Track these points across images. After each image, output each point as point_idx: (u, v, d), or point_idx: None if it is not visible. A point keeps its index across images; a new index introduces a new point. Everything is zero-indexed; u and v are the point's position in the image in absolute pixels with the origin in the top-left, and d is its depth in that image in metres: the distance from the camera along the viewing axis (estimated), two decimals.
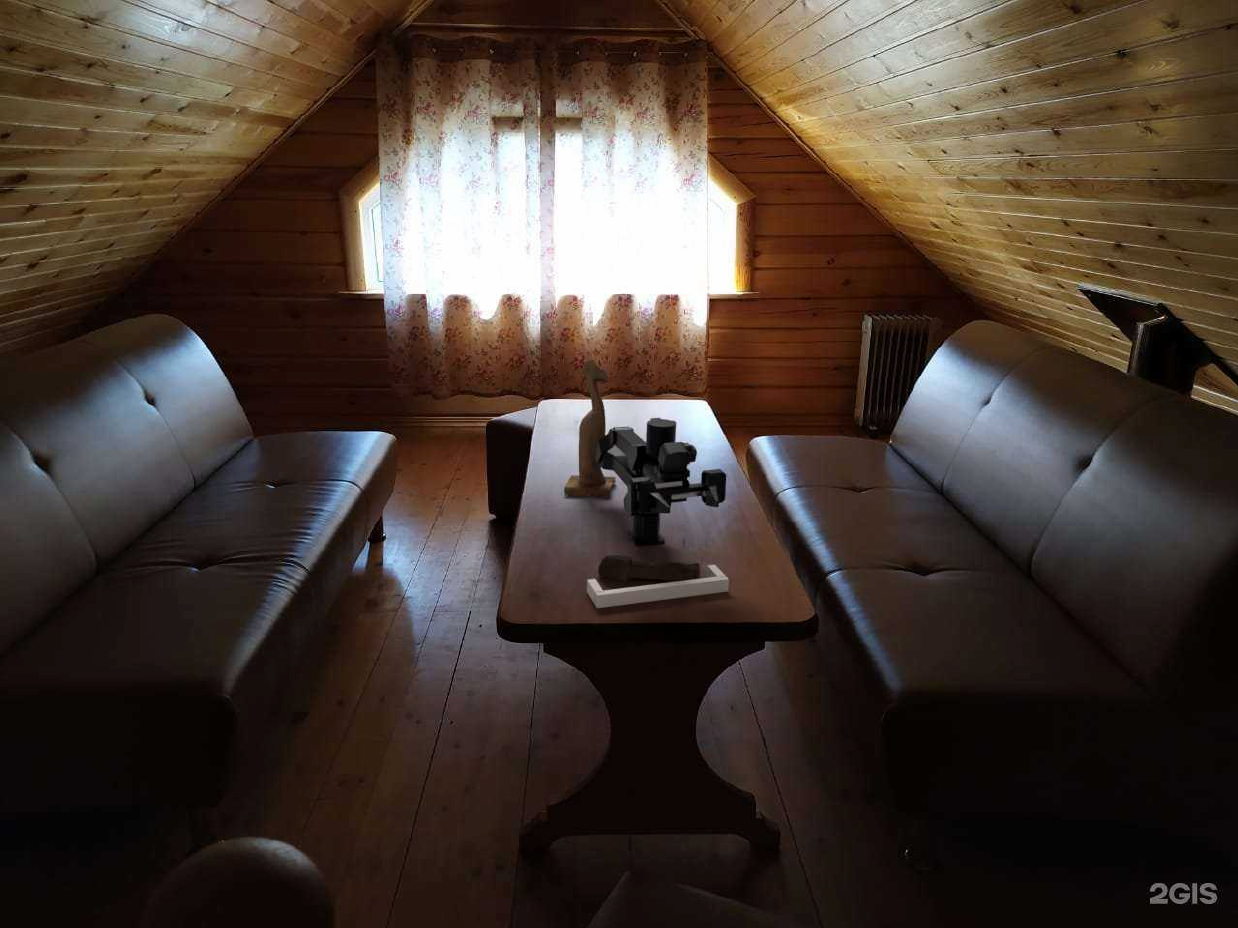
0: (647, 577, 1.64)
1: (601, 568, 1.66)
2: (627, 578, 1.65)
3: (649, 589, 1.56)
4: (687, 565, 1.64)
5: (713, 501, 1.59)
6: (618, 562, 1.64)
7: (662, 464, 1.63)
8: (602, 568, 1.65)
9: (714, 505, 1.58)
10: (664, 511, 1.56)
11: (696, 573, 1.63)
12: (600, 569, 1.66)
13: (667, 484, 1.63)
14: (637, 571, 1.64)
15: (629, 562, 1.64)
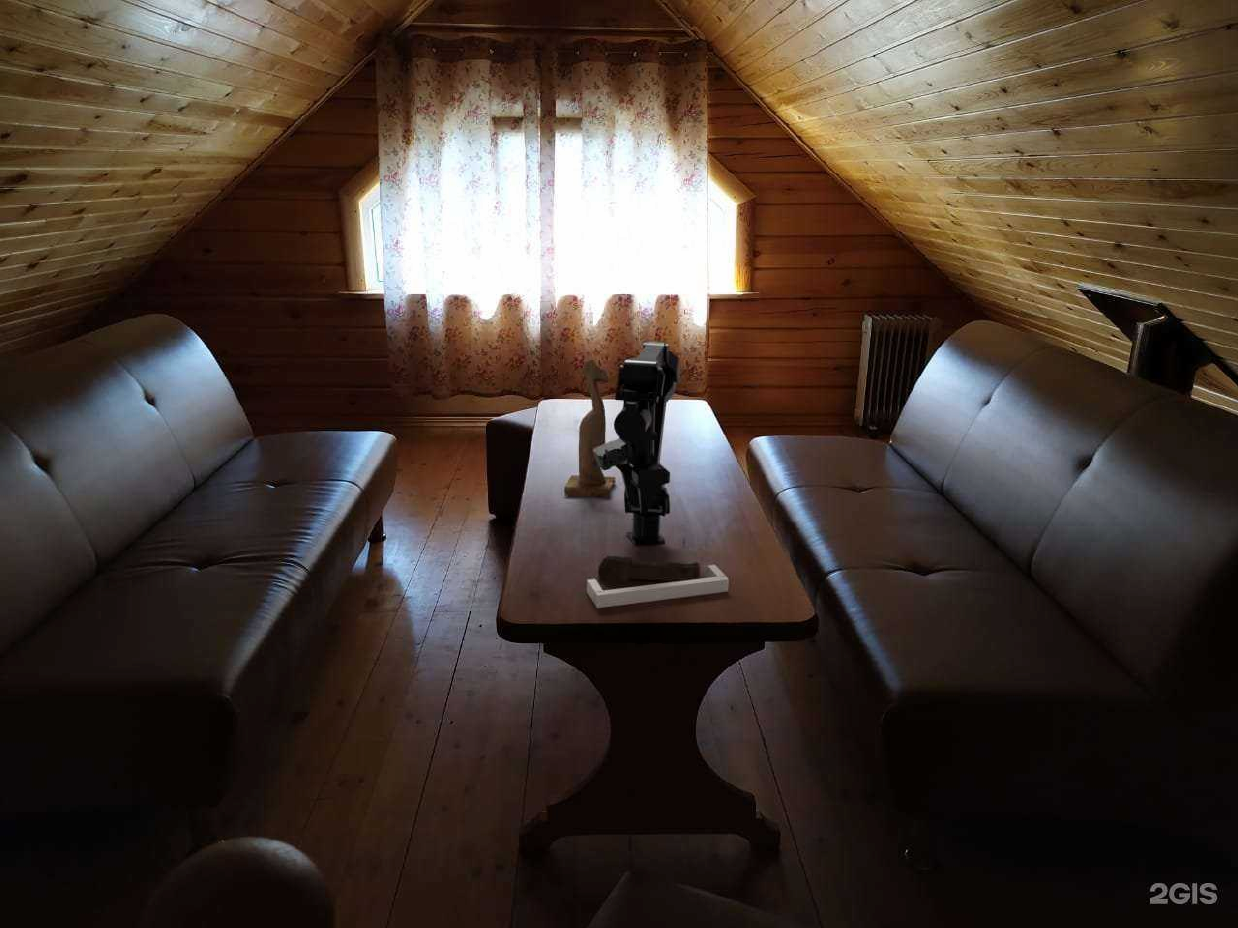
0: (647, 577, 1.64)
1: (601, 569, 1.65)
2: (627, 579, 1.65)
3: (649, 589, 1.56)
4: (687, 565, 1.64)
5: None
6: (619, 563, 1.64)
7: None
8: (602, 569, 1.65)
9: None
10: None
11: (696, 573, 1.63)
12: (600, 570, 1.65)
13: None
14: (637, 572, 1.64)
15: (629, 563, 1.64)
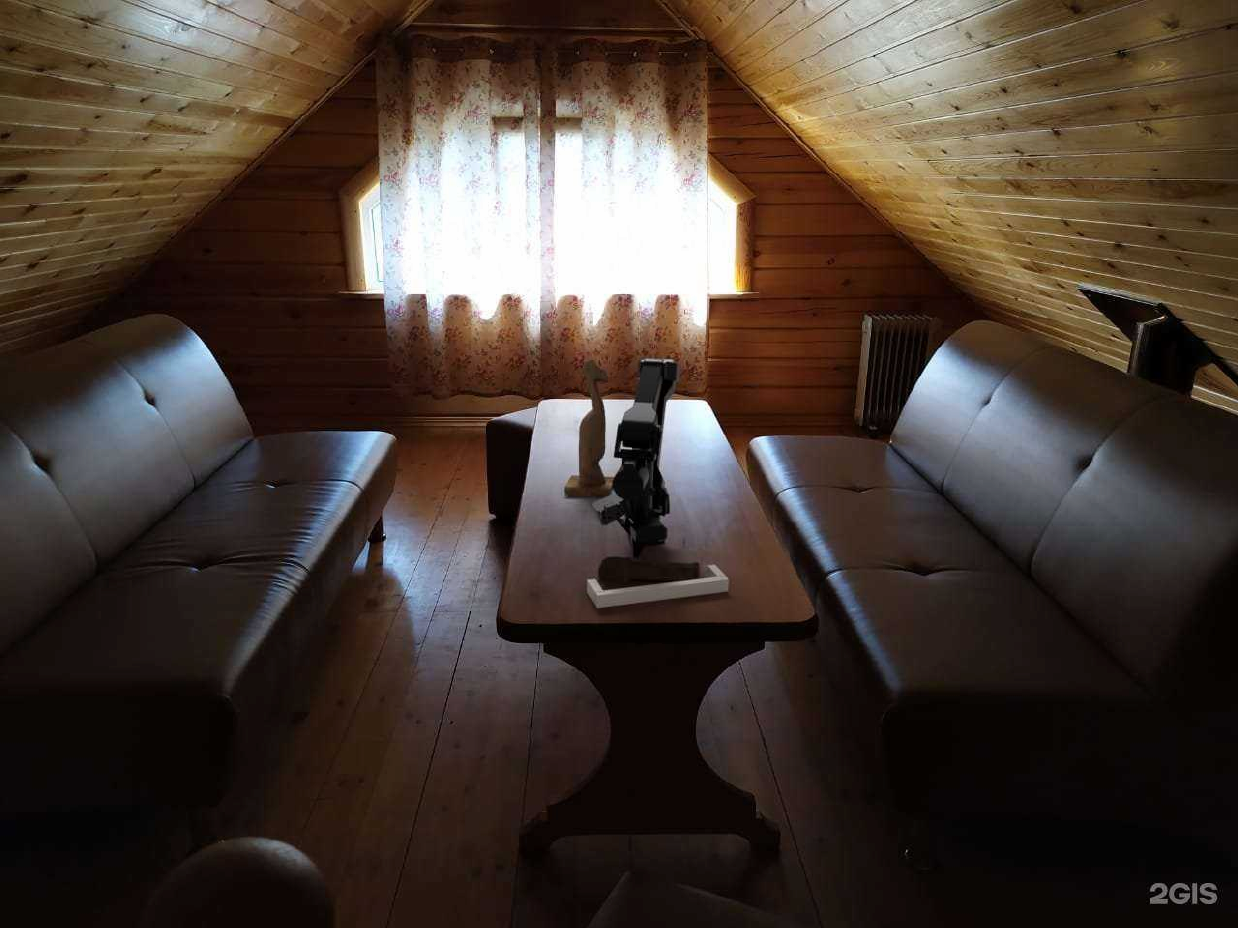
0: (647, 577, 1.64)
1: (601, 570, 1.65)
2: (627, 579, 1.65)
3: (649, 589, 1.56)
4: (687, 565, 1.64)
5: None
6: (619, 563, 1.64)
7: None
8: (602, 569, 1.65)
9: None
10: None
11: (697, 572, 1.63)
12: (600, 571, 1.65)
13: None
14: (637, 572, 1.64)
15: (629, 563, 1.64)
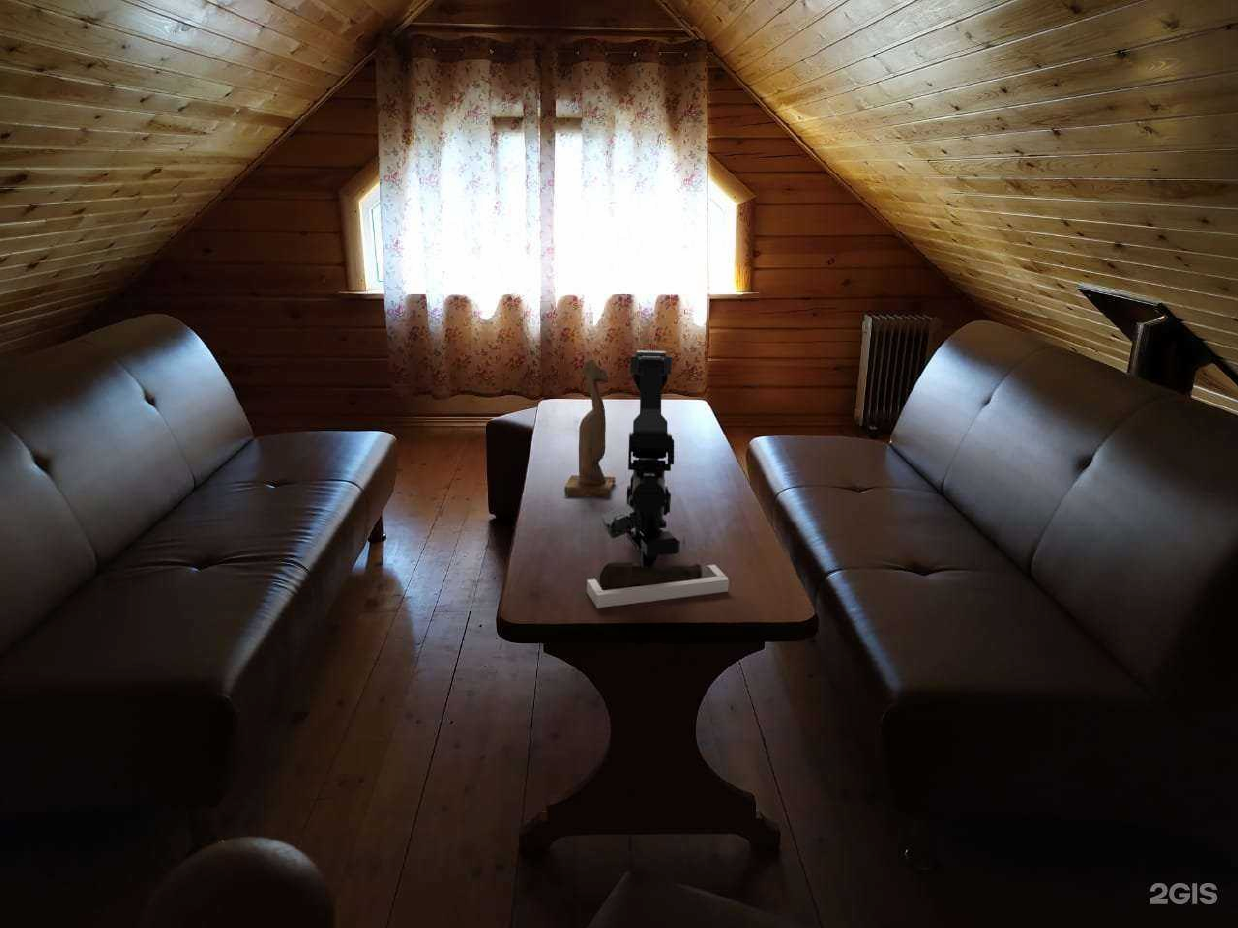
0: (650, 582, 1.62)
1: (603, 576, 1.62)
2: (630, 585, 1.62)
3: (649, 589, 1.56)
4: (689, 567, 1.64)
5: None
6: (621, 569, 1.61)
7: None
8: (604, 576, 1.62)
9: None
10: None
11: (700, 575, 1.62)
12: (601, 577, 1.62)
13: None
14: (640, 577, 1.62)
15: (632, 568, 1.62)
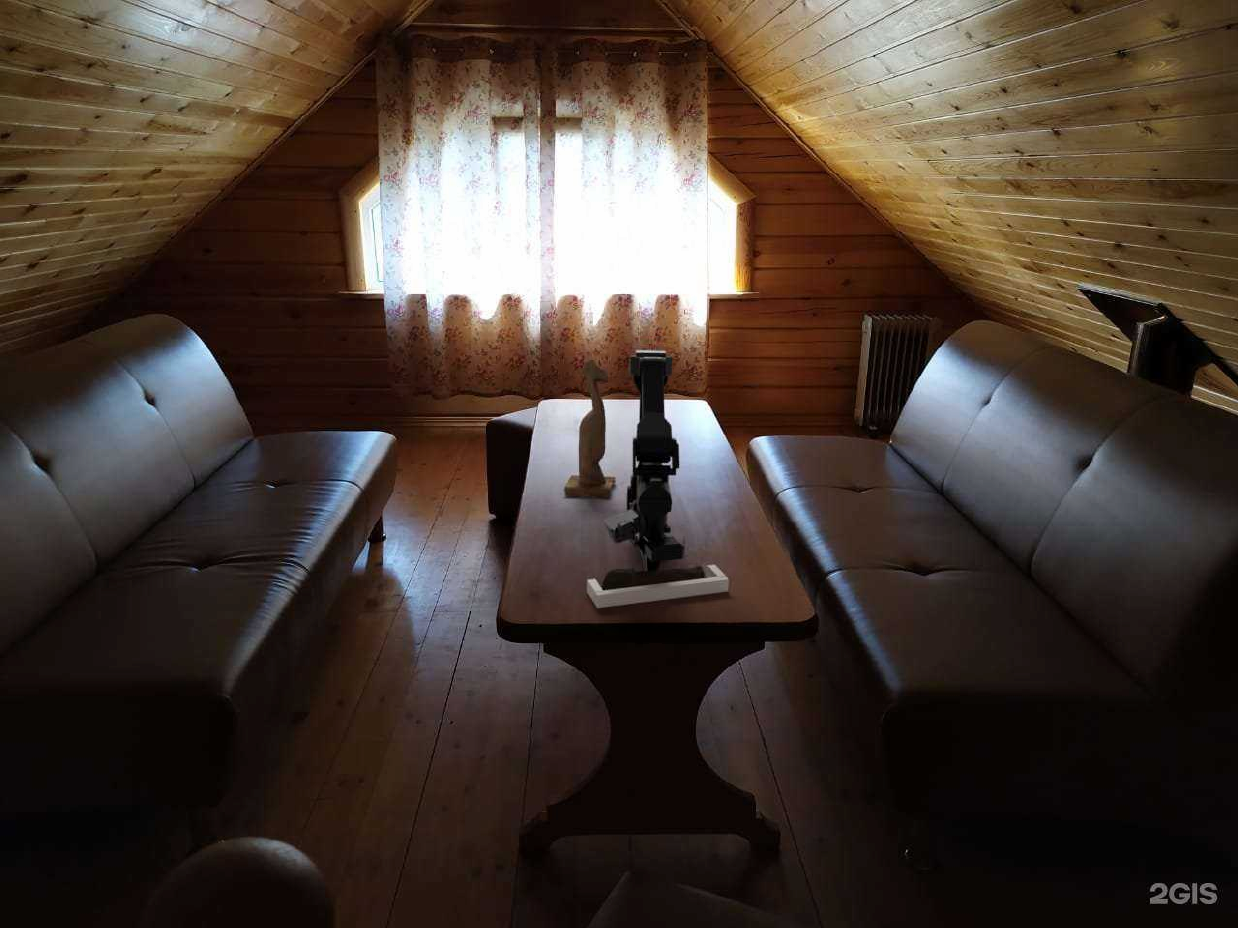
0: None
1: (606, 584, 1.59)
2: None
3: (649, 589, 1.56)
4: (691, 569, 1.62)
5: None
6: (625, 576, 1.59)
7: None
8: (607, 584, 1.59)
9: None
10: None
11: (703, 576, 1.61)
12: (605, 585, 1.59)
13: None
14: (644, 582, 1.60)
15: (635, 574, 1.59)
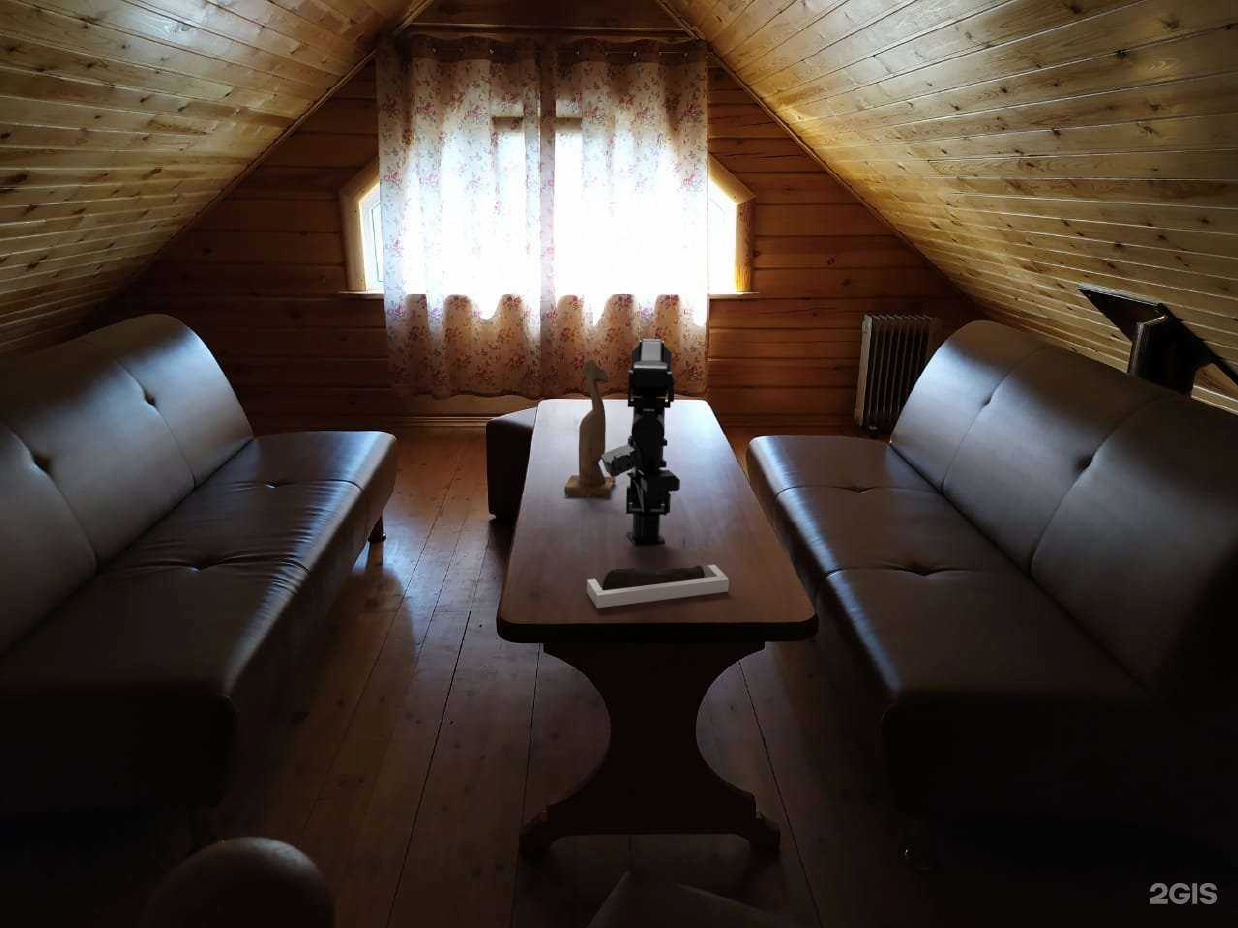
0: None
1: (606, 584, 1.59)
2: None
3: (649, 589, 1.56)
4: (691, 569, 1.62)
5: None
6: (625, 576, 1.59)
7: None
8: (607, 584, 1.59)
9: None
10: None
11: (703, 576, 1.61)
12: (605, 585, 1.59)
13: None
14: (644, 582, 1.60)
15: (636, 574, 1.59)
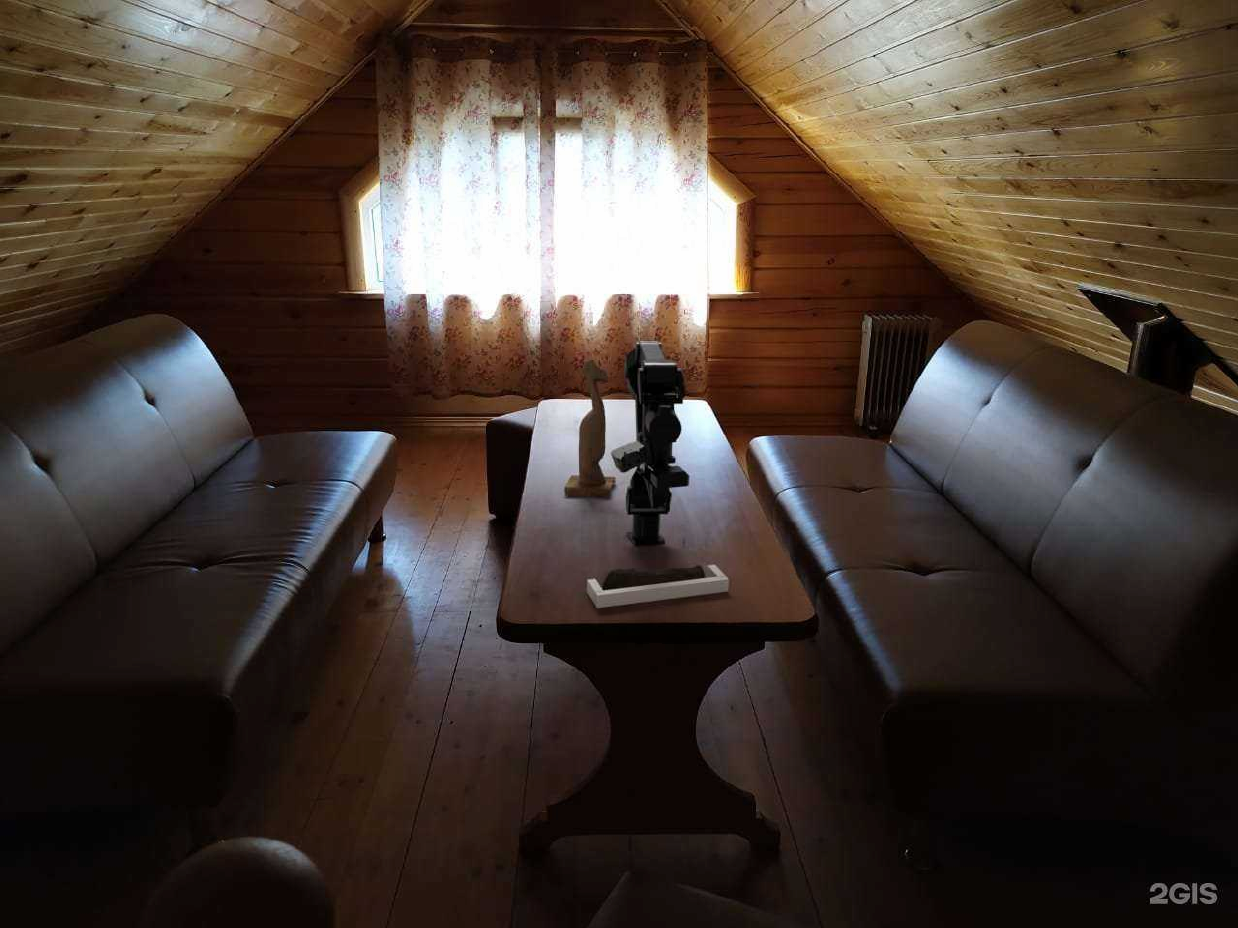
0: None
1: (606, 585, 1.59)
2: None
3: (649, 589, 1.56)
4: (691, 569, 1.63)
5: None
6: (625, 576, 1.58)
7: None
8: (608, 584, 1.59)
9: None
10: None
11: (703, 576, 1.61)
12: (605, 586, 1.59)
13: None
14: (644, 582, 1.60)
15: (636, 574, 1.59)
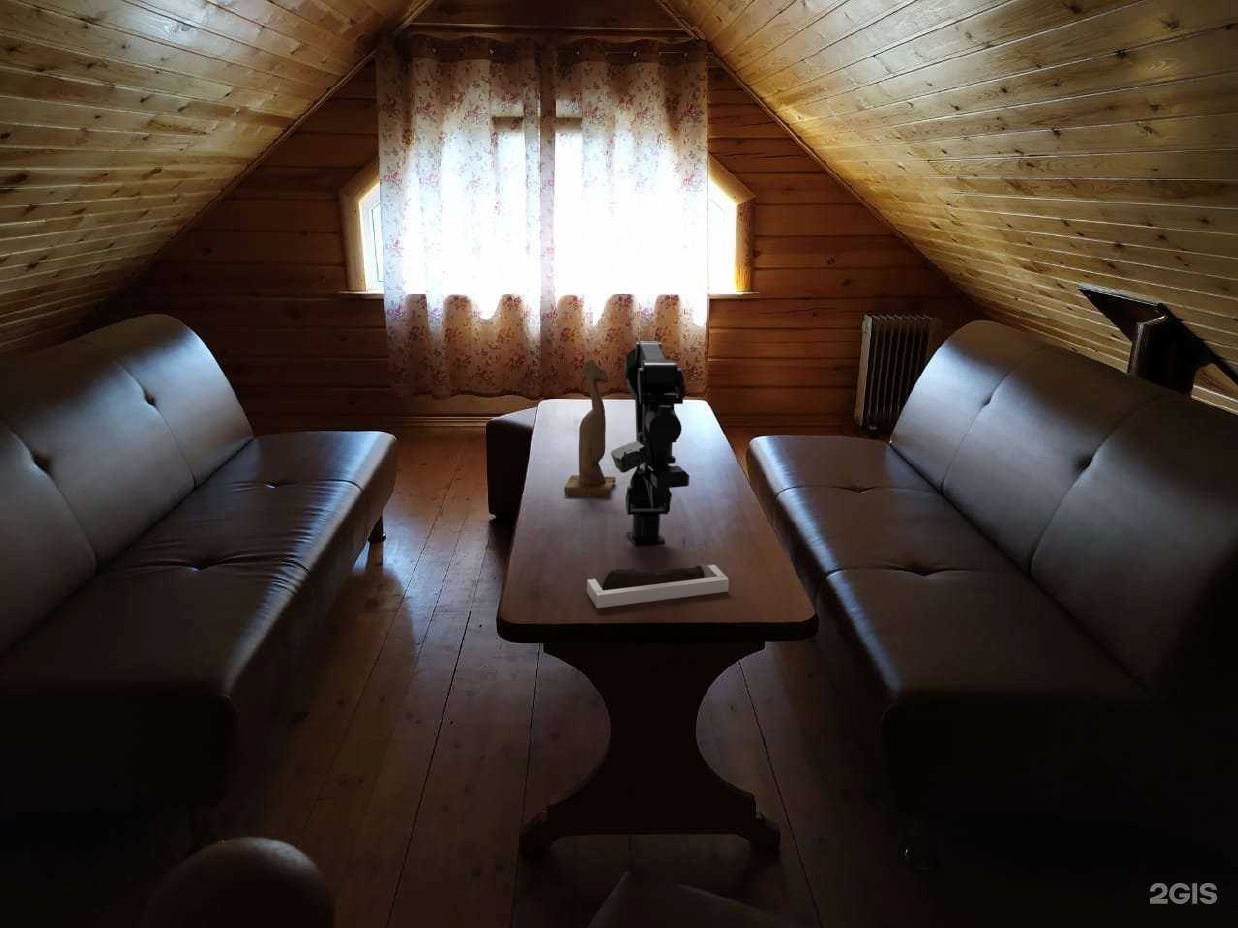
0: None
1: (606, 585, 1.59)
2: None
3: (649, 589, 1.56)
4: (691, 569, 1.63)
5: None
6: (625, 576, 1.59)
7: None
8: (608, 585, 1.59)
9: None
10: None
11: (703, 576, 1.61)
12: (605, 586, 1.59)
13: None
14: (644, 582, 1.60)
15: (636, 575, 1.59)
